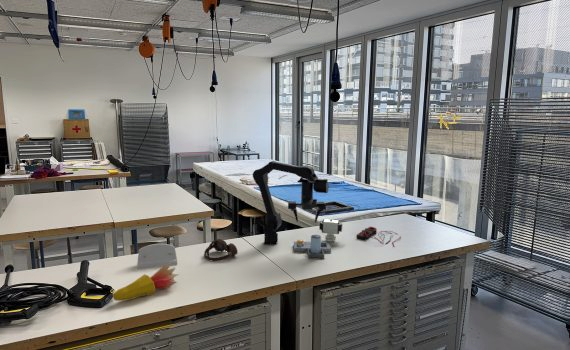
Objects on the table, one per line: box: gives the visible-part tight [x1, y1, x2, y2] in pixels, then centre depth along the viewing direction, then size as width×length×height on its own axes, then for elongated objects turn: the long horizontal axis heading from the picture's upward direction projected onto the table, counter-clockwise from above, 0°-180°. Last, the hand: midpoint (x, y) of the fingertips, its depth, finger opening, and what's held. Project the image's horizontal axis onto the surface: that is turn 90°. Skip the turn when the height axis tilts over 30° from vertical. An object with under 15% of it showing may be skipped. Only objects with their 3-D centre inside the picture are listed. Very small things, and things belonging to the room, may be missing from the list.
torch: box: [112, 262, 180, 302], centre depth 139 cm, size 8×8×25 cm
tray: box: [306, 249, 325, 260], centre depth 181 cm, size 7×7×2 cm
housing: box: [293, 241, 332, 254], centre depth 190 cm, size 18×10×2 cm, turn 90°
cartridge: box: [310, 234, 322, 254], centre depth 180 cm, size 5×5×9 cm
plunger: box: [296, 239, 304, 246], centre depth 190 cm, size 3×3×4 cm
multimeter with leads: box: [356, 226, 401, 248], centre depth 210 cm, size 23×4×25 cm
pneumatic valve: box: [318, 218, 343, 243], centre depth 203 cm, size 6×12×12 cm, turn 76°
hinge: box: [137, 243, 178, 270], centre depth 167 cm, size 17×5×10 cm, turn 109°
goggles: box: [203, 238, 239, 262], centre depth 177 cm, size 15×13×10 cm
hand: (306, 222), depth 191 cm, fingers open, 9 cm apart
